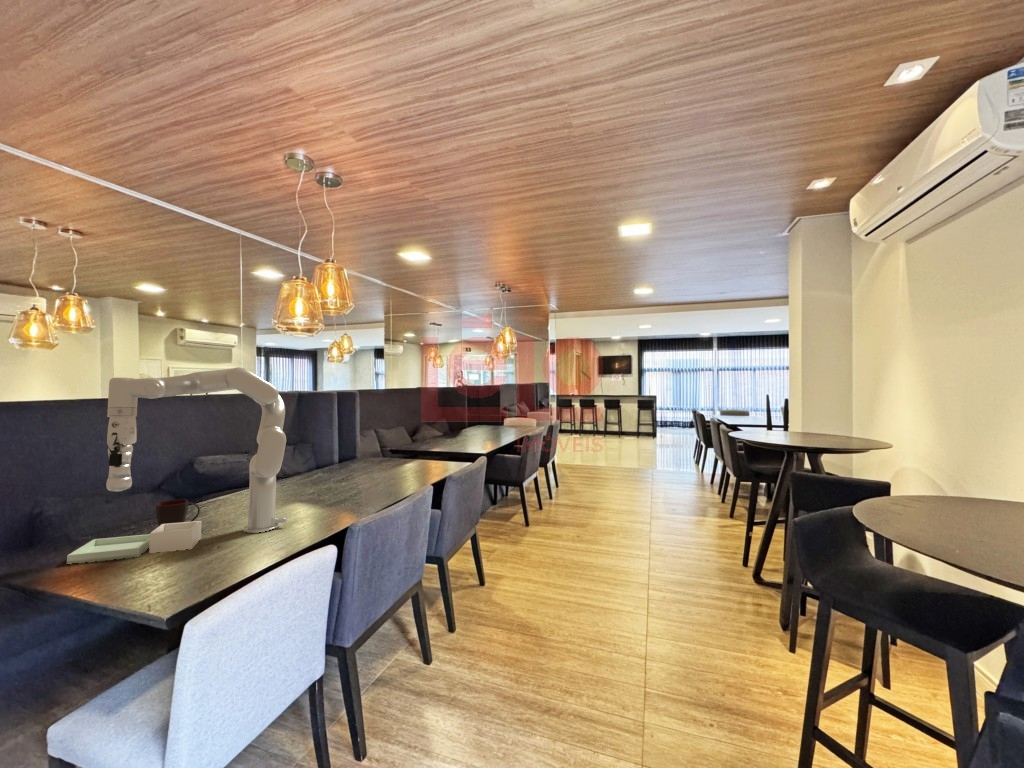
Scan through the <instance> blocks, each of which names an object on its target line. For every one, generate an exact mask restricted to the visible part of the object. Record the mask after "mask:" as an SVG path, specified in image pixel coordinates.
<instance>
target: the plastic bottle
mask: <svg viewBox="0 0 1024 768" xmlns="http://www.w3.org/2000/svg"><path fill="white" fill-rule="evenodd" d="M115 445H120V443H119V444H115ZM117 448H119V447H117ZM109 451H110V450H109V447H108V449H107V455H108V457H109ZM133 451H134V446H133V444H132V445H131V444H130V445H123V446H122V450H121V454H122V465H120V466H109V469H108V476H107V477H108V478H107V479H106V485H105V486H106V489H107V491H109V492H117V493H118V492H123V491H126V490H129V489H131V487H132V485H133V478H132V476H131V475H132V474H131V473H132V472H131V463H132V457H133Z"/></svg>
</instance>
